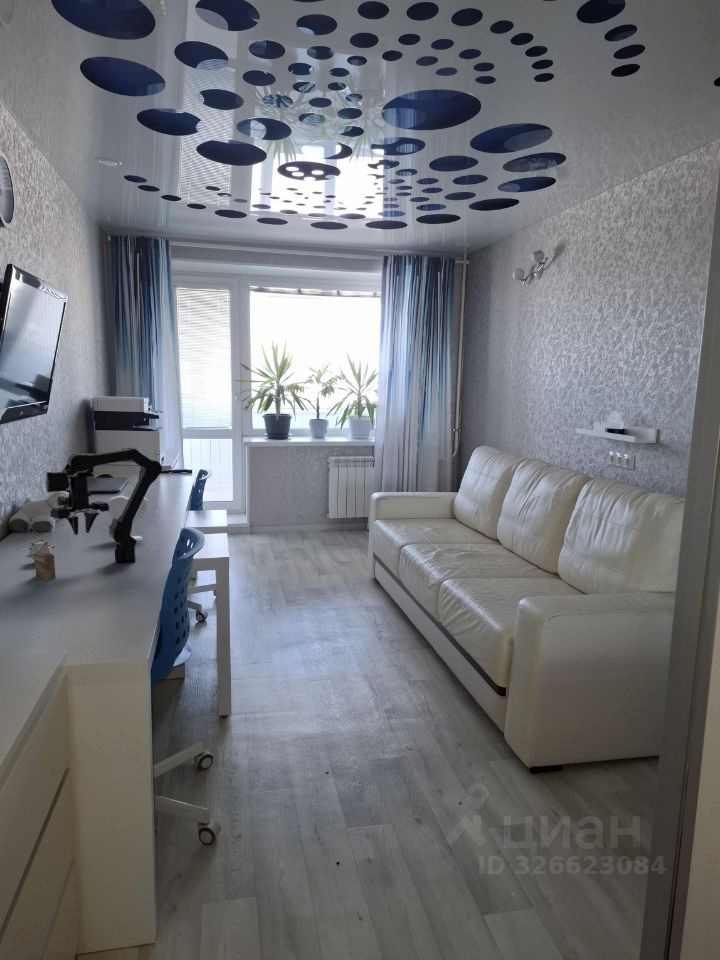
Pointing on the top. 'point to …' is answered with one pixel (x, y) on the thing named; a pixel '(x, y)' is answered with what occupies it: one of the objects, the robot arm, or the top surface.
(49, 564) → the walnut block
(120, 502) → the heart sculpture
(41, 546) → the game die
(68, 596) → the top surface
